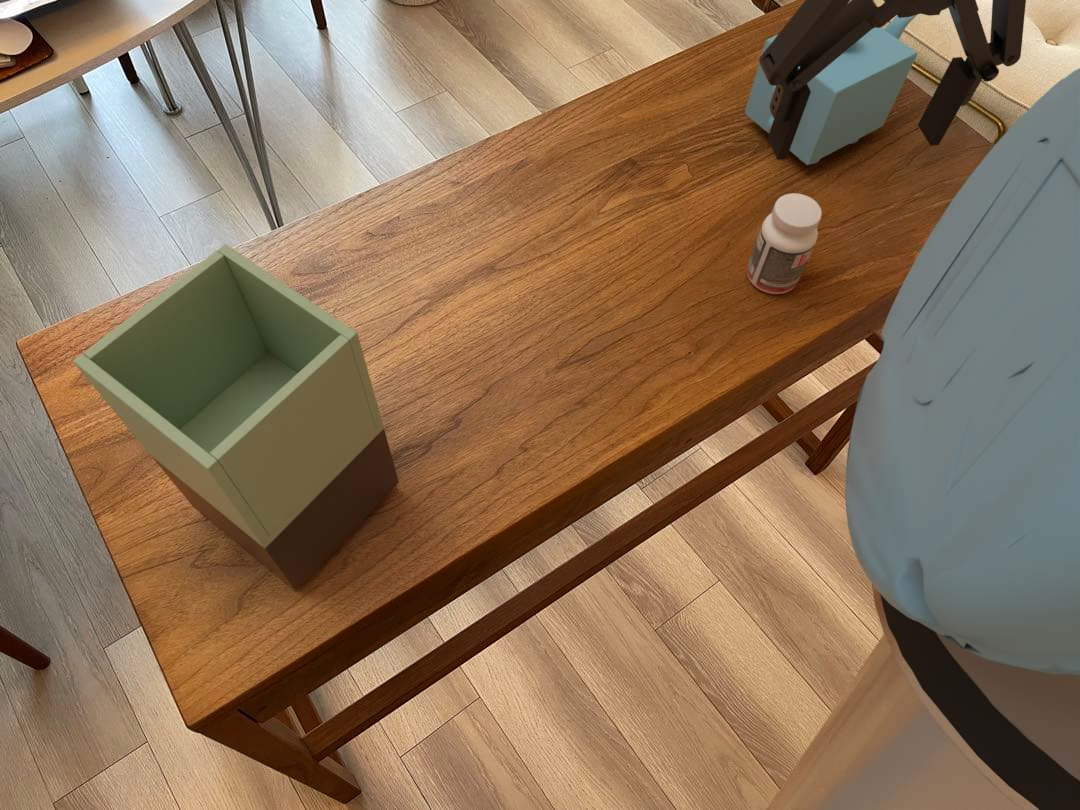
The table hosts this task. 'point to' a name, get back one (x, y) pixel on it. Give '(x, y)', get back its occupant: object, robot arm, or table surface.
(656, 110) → the table surface
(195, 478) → the waste bin
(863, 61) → the teapot
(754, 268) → the pill bottle
